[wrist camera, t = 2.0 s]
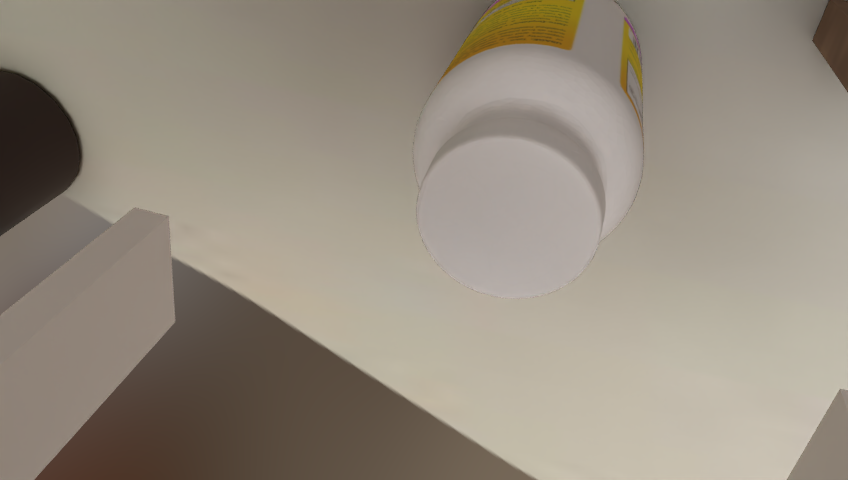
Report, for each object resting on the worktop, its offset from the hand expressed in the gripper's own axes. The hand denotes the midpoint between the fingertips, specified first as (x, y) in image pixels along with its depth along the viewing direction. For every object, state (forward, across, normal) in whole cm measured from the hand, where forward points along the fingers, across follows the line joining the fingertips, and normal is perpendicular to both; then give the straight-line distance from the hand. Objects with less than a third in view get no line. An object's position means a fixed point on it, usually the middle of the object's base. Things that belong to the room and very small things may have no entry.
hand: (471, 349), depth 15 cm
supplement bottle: (+18, 0, 0) cm, 18 cm away
